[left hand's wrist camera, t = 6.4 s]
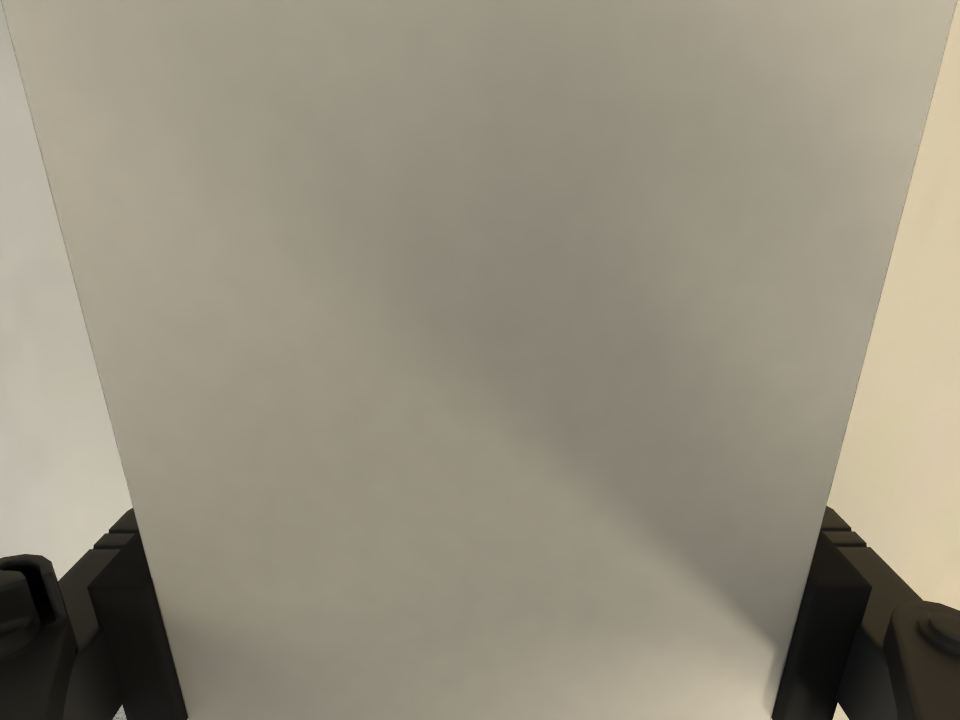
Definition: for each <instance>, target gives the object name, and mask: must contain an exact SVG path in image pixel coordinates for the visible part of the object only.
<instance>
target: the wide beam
mask: <svg viewBox="0 0 960 720" xmlns="http://www.w3.org/2000/svg"><path fill="white" fill-rule="evenodd" d="M1 2H2V6H3V9H4V13H5V17H6V21H7V25H8V29H9V33H10V36H11V40H12V44H13V48H14V52H15V56H16V59H17V63H18V67H19V71H20V75H21V79H22V82H23V86H24V90H25V94H26V98H27V102H28V105H29V109H30V113H31V117H32V121H33V125H34V128H35V132H36V136H37V140H38V144H39V148H40V152H41V155H42V159H43V163H44V167H45V171H46V175H47V178H48V182H49V186H50V190H51V194H52V198H53V201H54V205H55V209H56V213H57V217H58V221H59V224H60V228H61V232H62V236H63V240H64V244H65V248H66V251H67V255H68V259H69V263H70V267H71V271H72V274H73V278H74V282H75V286H76V290H77V294H78V297H79V301H80V305H81V309H82V313H83V317H84V320H85V324H86V328H87V332H88V336H89V340H90V344H91V347H92V351H93V355H94V359H95V363H96V367H97V370H98V374H99V378H100V382H101V386H102V390H103V393H104V397H105V401H106V405H107V409H108V413H109V416H110V420H111V424H112V428H113V432H114V436H115V439H116V443H117V447H118V451H119V455H120V459H121V463H122V466H123V470H124V474H125V478H126V482H127V486H128V489H129V493H130V497H131V501H132V505H133V509H134V512H135V516H136V520H137V524H138V528H139V532H140V535H141V539H142V543H143V547H144V551H145V555H146V559H147V562H148V566H149V570H150V574H151V578H152V582H153V585H154V589H155V593H156V597H157V601H158V605H159V608H160V612H161V616H162V620H163V624H164V628H165V631H166V635H167V639H168V643H169V647H170V651H171V655H172V658H173V662H174V666H175V670H176V674H177V678H178V681H179V685H180V689H181V693H182V697H183V701H184V704H185V708H186V712H187V716H188V720H771V717H772V713H773V709H774V705H775V701H776V697H777V693H778V690H779V686H780V682H781V678H782V674H783V670H784V667H785V663H786V659H787V655H788V651H789V647H790V643H791V640H792V636H793V632H794V628H795V624H796V620H797V616H798V613H799V609H800V605H801V601H802V597H803V593H804V589H805V586H806V582H807V578H808V574H809V570H810V566H811V563H812V559H813V555H814V551H815V547H816V543H817V539H818V536H819V532H820V528H821V524H822V520H823V516H824V512H825V509H826V505H827V501H828V497H829V493H830V489H831V486H832V482H833V478H834V474H835V470H836V466H837V462H838V459H839V455H840V451H841V447H842V443H843V439H844V435H845V432H846V428H847V424H848V420H849V416H850V412H851V409H852V405H853V401H854V397H855V393H856V389H857V385H858V382H859V378H860V374H861V370H862V366H863V362H864V358H865V355H866V351H867V347H868V343H869V339H870V335H871V332H872V328H873V324H874V320H875V316H876V312H877V308H878V305H879V301H880V297H881V293H882V289H883V285H884V281H885V278H886V274H887V270H888V266H889V262H890V258H891V255H892V251H893V247H894V243H895V239H896V235H897V231H898V228H899V224H900V220H901V216H902V212H903V208H904V204H905V201H906V197H907V193H908V189H909V185H910V181H911V177H912V174H913V170H914V166H915V162H916V158H917V154H918V151H919V147H920V143H921V139H922V135H923V131H924V127H925V124H926V120H927V116H928V112H929V108H930V104H931V100H932V97H933V93H934V89H935V85H936V81H937V77H938V74H939V70H940V66H941V62H942V58H943V54H944V50H945V47H946V43H947V39H948V35H949V31H950V27H951V23H952V20H953V16H954V12H955V8H956V4H957V0H1Z"/></svg>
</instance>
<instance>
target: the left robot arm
mask: <svg viewBox="0 0 960 720" xmlns="http://www.w3.org/2000/svg"><path fill="white" fill-rule="evenodd" d="M837 703H839V704H840V706H841V707H842V709H843V711H844V712H845V714H846V715H847V717H848V718H849V720H960V611H959V610H956V609H953V608H951V607H948V606H945V605H943V604H940V603H934V602H928V601H923V600H922V599H921V598H920V597H919V596H918V595H917V594H916V593H915V592H914V591H913V590H912V589H911V588H910V587H909V586H908V585H907V584H906V583H905V582H904V581H903V580H902V579H901V578H900V577H899V576H898V575H897V574H896V573H895V572H894V571H893V570H892V569H891V568H890V567H889V566H888V565H887V564H886V563H885V562H884V561H883V560H882V559H881V558H880V557H879V556H878V555H877V554H876V553H875V551H874V550H873V549H872V548H871V547H867V546H866V542H865V541H864V540H863V539H862V538H861V537H860V536H859V535H858V534H857V533H856V532H852V531H851V527H850V526H849V525H848V524H847V523H846V522H845V521H844V520H843V519H842V518H841V517H840V516H839V515H838V514H837V513H836V512H835V511H834V510H833V509H831V508H830V507H828V506H826V509H825V512H824V516H823V520H822V524H821V528H820V532H819V536H818V539H817V543H816V547H815V551H814V555H813V559H812V563H811V566H810V570H809V574H808V578H807V582H806V586H805V589H804V593H803V597H802V601H801V605H800V609H799V613H798V616H797V620H796V624H795V628H794V632H793V636H792V640H791V643H790V647H789V651H788V655H787V659H786V663H785V667H784V670H783V674H782V678H781V682H780V686H779V690H778V693H777V697H776V701H775V705H774V709H773V713H772V717H771V718H772V720H832V719H833V716H834V713H835V709H836V706H837ZM121 705H123V708H124V711H125V714H126V718H127V720H187V719H188V716H187V712H186V708H185V704H184V701H183V697H182V693H181V689H180V685H179V681H178V678H177V674H176V670H175V666H174V662H173V658H172V655H171V651H170V647H169V643H168V639H167V635H166V631H165V628H164V624H163V620H162V616H161V612H160V608H159V605H158V601H157V597H156V593H155V589H154V585H153V582H152V578H151V574H150V570H149V566H148V562H147V559H146V555H145V551H144V547H143V543H142V539H141V535H140V532H139V528H138V524H137V520H136V516H135V512H134V509H133V508H132V509H130V510H128V511H127V512H126V513H125V514H124V515H123V516H122V517H121V518H120V519H119V520H118V521H117V522H116V523H115V524H114V525H113V526H112V527H111V528H110V529H109V533H108V534H104V535H103V536H102V537H101V538H100V539H99V540H98V541H97V542H96V543H95V544H94V548H93V549H90V550H89V551H88V552H87V553H86V554H85V555H84V556H83V557H82V558H81V559H80V560H79V561H78V562H77V563H76V564H75V565H74V566H73V567H72V568H71V569H70V570H69V571H68V572H67V573H66V574H65V575H64V576H63V577H62V578H61V579H60V580H59V581H57V578H56V575H55V572H54V569H53V565H52V562H51V561H49V560H48V559H46V558H45V557H43V556H41V555H30V554H23V555H16V556H10V557H3V558H0V720H112V719H113V717H114V716H115V714H116V713H117V711H118V710H119V708H120V707H121Z"/></svg>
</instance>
